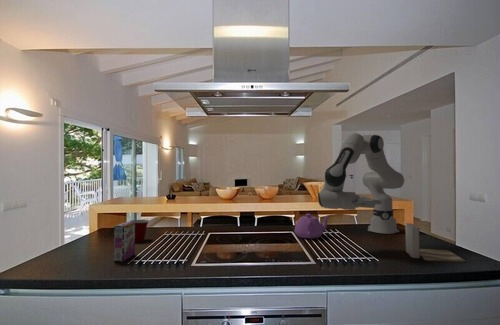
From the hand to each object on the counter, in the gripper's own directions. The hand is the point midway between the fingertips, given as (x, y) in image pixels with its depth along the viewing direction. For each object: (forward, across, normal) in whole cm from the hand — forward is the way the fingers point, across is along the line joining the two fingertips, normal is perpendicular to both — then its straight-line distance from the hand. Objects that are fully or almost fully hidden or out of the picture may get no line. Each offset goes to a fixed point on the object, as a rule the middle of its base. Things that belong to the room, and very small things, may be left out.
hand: (380, 202), depth 140 cm
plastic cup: (-132, +2, +30) cm, 136 cm away
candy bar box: (-120, -29, +29) cm, 127 cm away
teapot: (-32, +29, +26) cm, 50 cm away
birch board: (+25, 0, +24) cm, 35 cm away
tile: (+14, 0, +24) cm, 28 cm away
